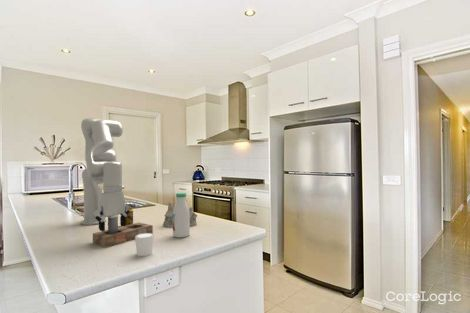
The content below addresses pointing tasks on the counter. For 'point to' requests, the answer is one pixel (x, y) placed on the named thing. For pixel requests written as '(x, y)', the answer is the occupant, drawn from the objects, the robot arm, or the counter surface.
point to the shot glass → (144, 244)
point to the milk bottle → (181, 217)
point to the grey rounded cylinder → (112, 224)
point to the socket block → (121, 234)
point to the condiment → (129, 216)
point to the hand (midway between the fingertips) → (112, 228)
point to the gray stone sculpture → (169, 217)
